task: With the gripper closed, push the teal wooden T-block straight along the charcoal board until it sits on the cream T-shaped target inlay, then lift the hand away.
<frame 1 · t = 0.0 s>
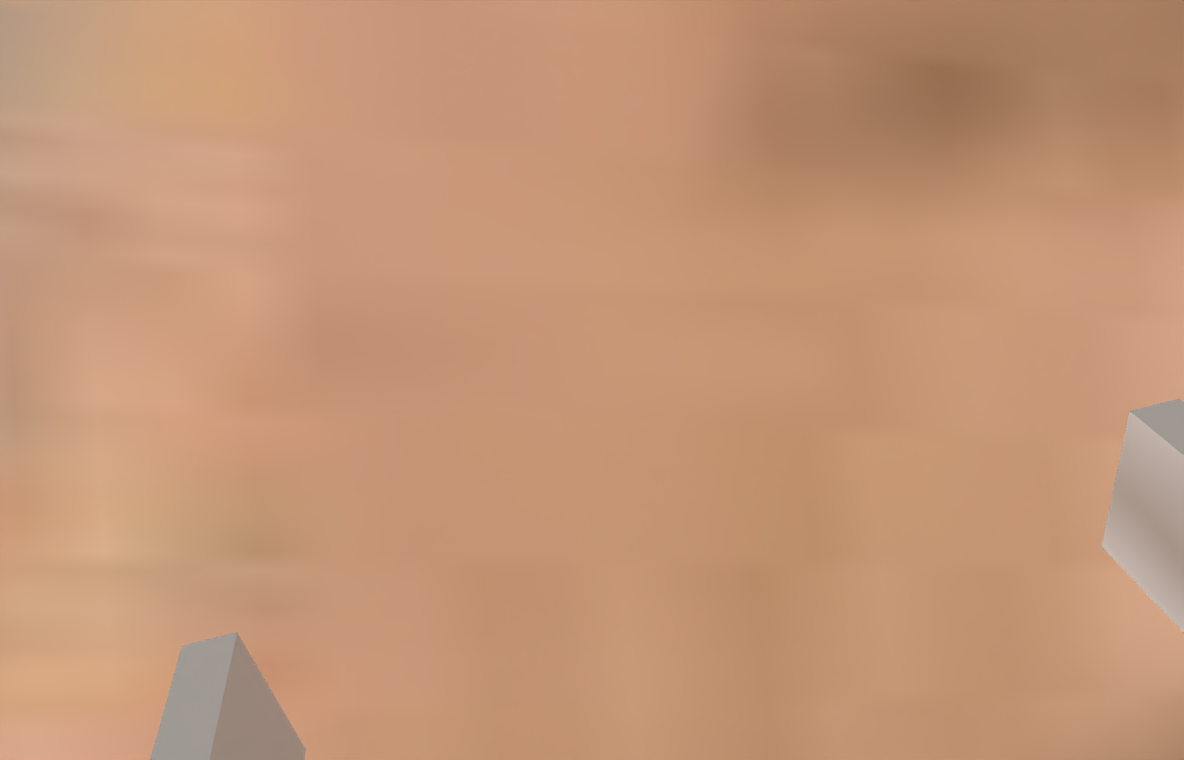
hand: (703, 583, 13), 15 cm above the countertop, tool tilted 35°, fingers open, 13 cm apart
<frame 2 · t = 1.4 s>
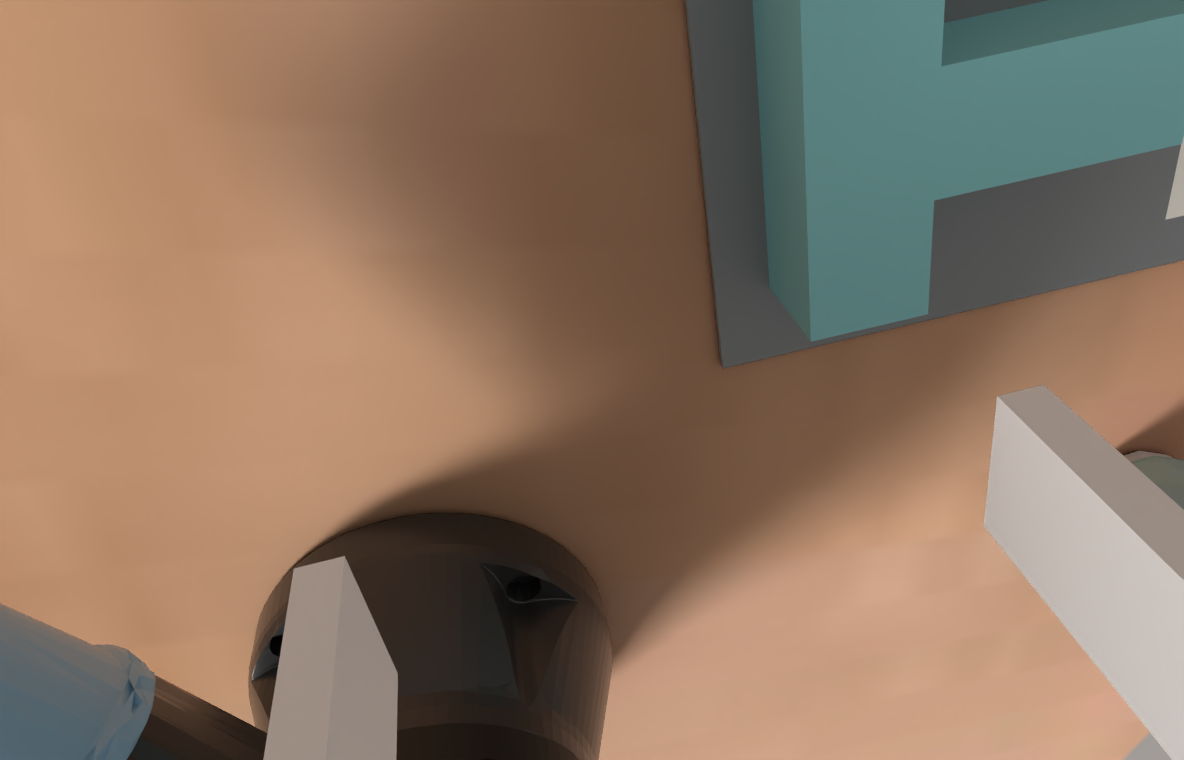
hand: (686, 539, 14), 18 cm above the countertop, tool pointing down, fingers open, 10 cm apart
disposable coffee cup: (1106, 502, 42), on the countertop
t block: (935, 87, 29), resting on board
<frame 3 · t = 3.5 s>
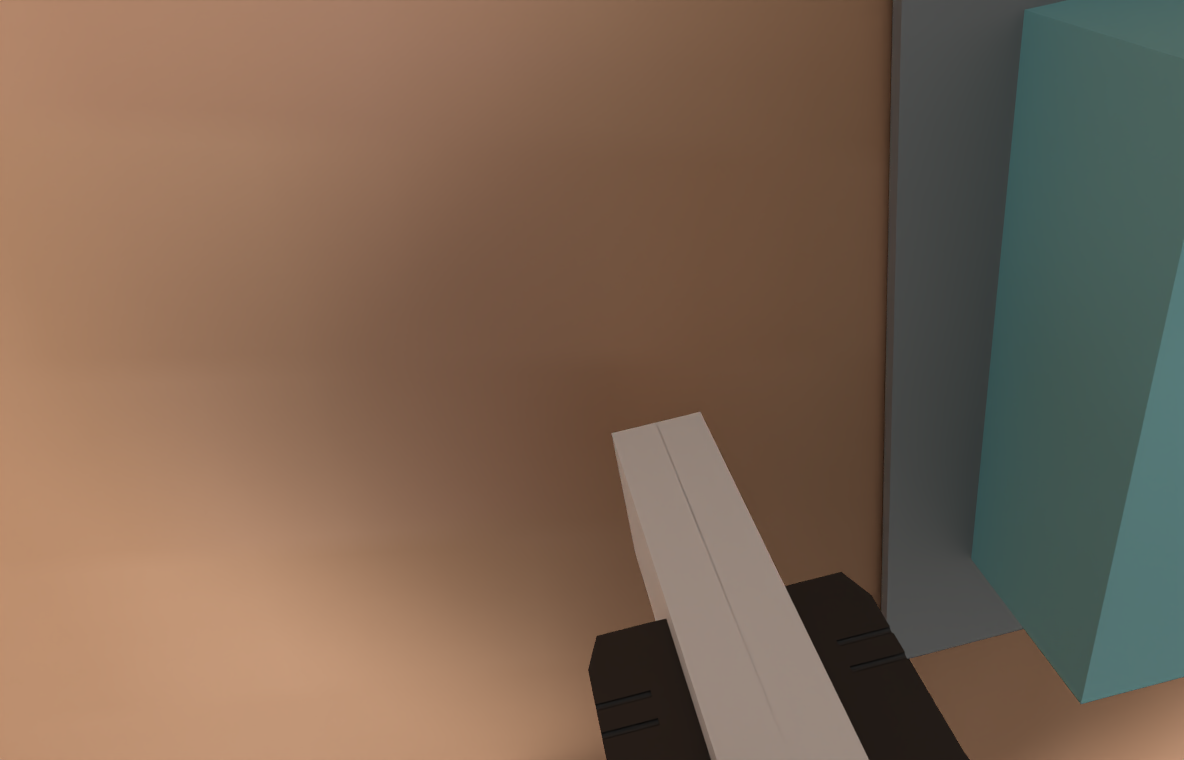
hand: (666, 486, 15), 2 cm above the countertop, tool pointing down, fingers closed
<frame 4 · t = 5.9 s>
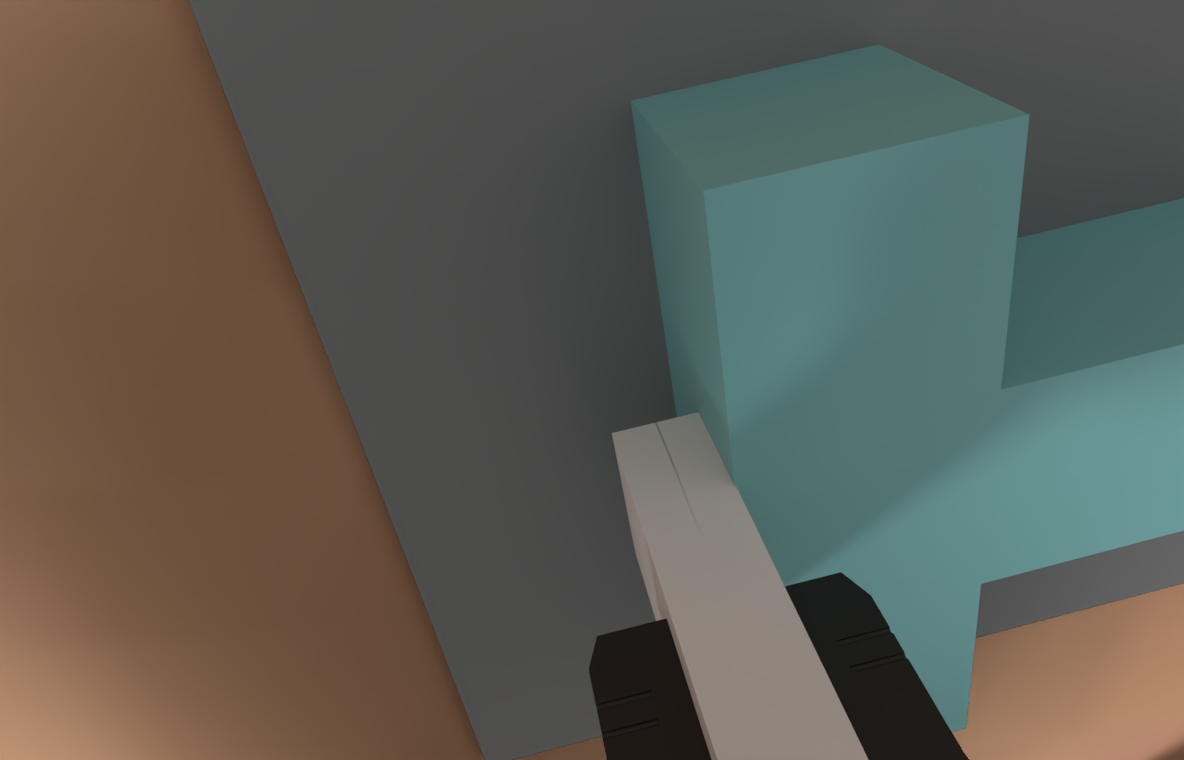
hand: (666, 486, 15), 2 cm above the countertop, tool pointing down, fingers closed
t block: (974, 339, 17), resting on board, touching gripper
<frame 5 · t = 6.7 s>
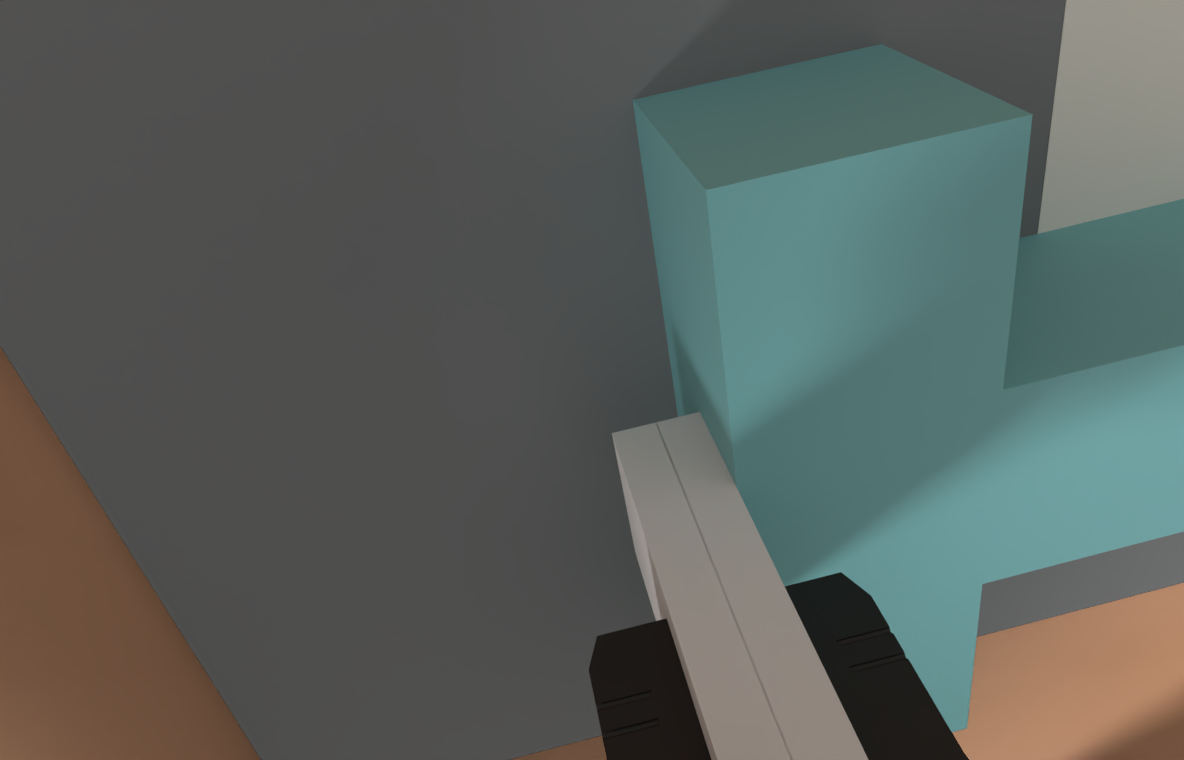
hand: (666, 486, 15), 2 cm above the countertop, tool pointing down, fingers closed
board: (993, 326, 17), on the countertop
t block: (976, 339, 17), resting on board, touching gripper
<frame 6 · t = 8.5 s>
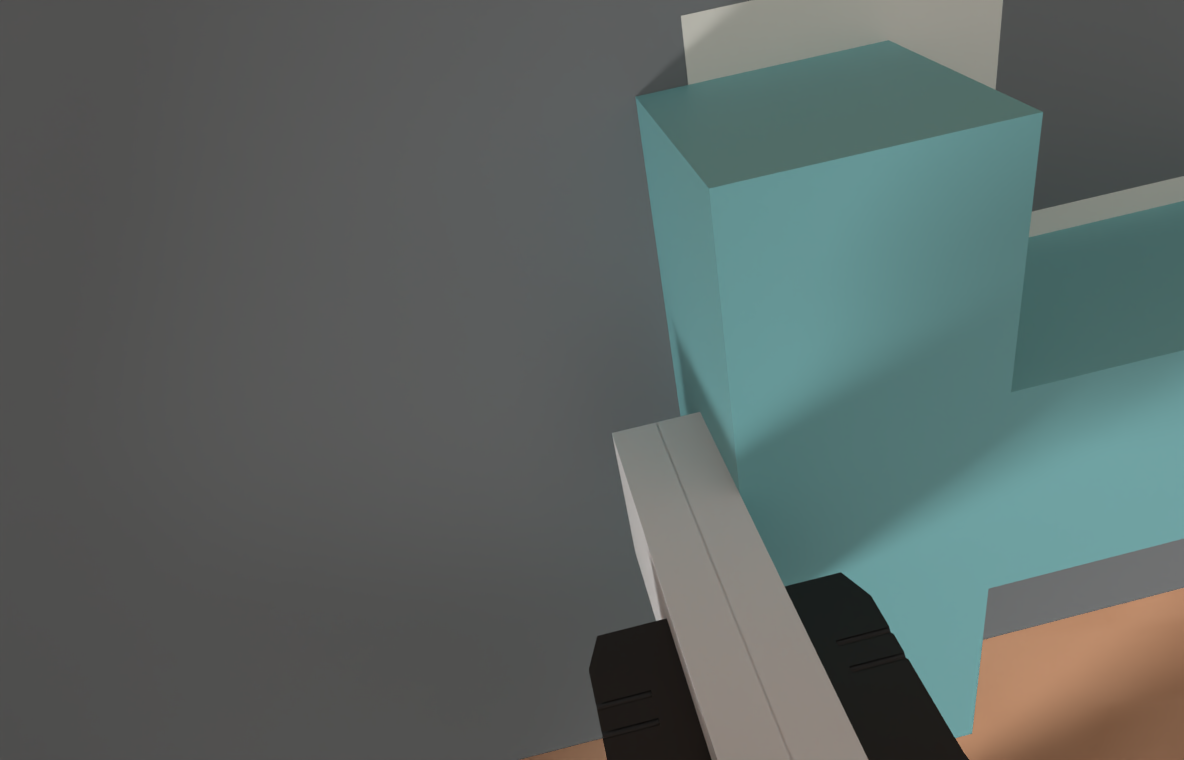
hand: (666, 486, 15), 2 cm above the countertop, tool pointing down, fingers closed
board: (692, 400, 17), on the countertop
t block: (983, 340, 17), resting on board, touching gripper
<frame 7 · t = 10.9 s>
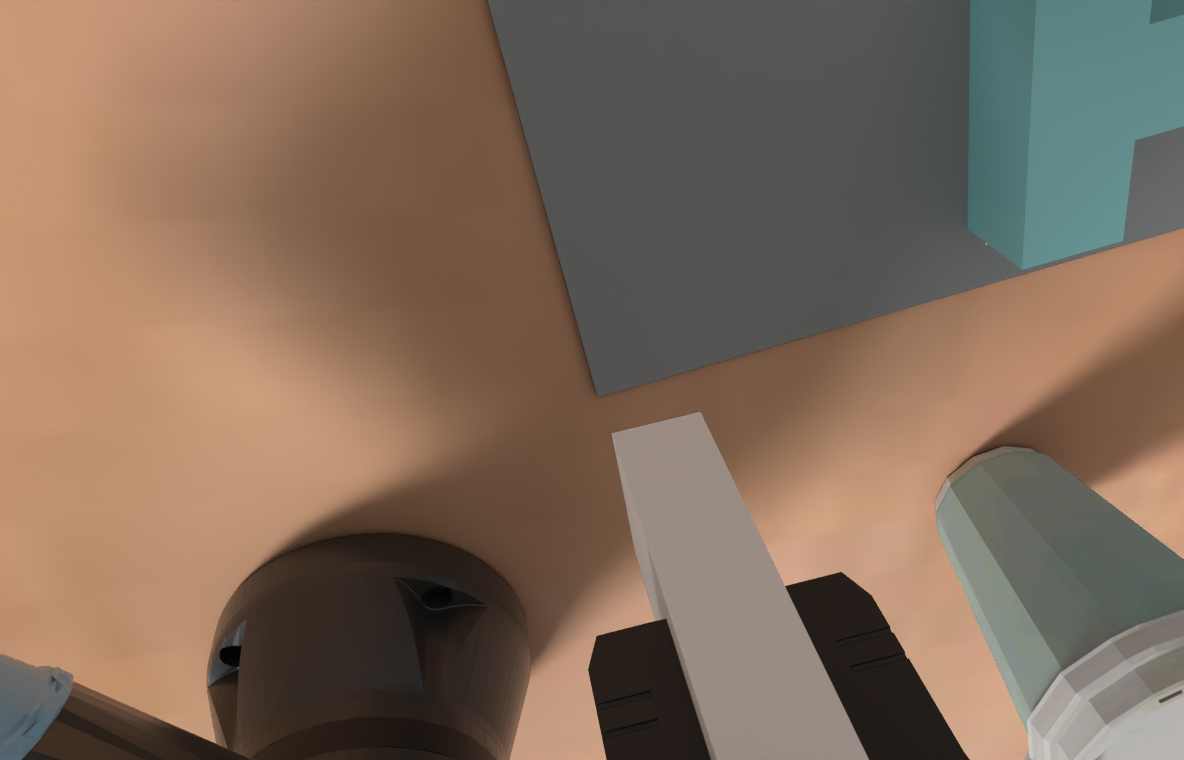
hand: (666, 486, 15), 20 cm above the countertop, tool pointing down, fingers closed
disposable coffee cup: (982, 493, 46), on the countertop
board: (972, 82, 34), on the countertop
t block: (1120, 43, 34), resting on board
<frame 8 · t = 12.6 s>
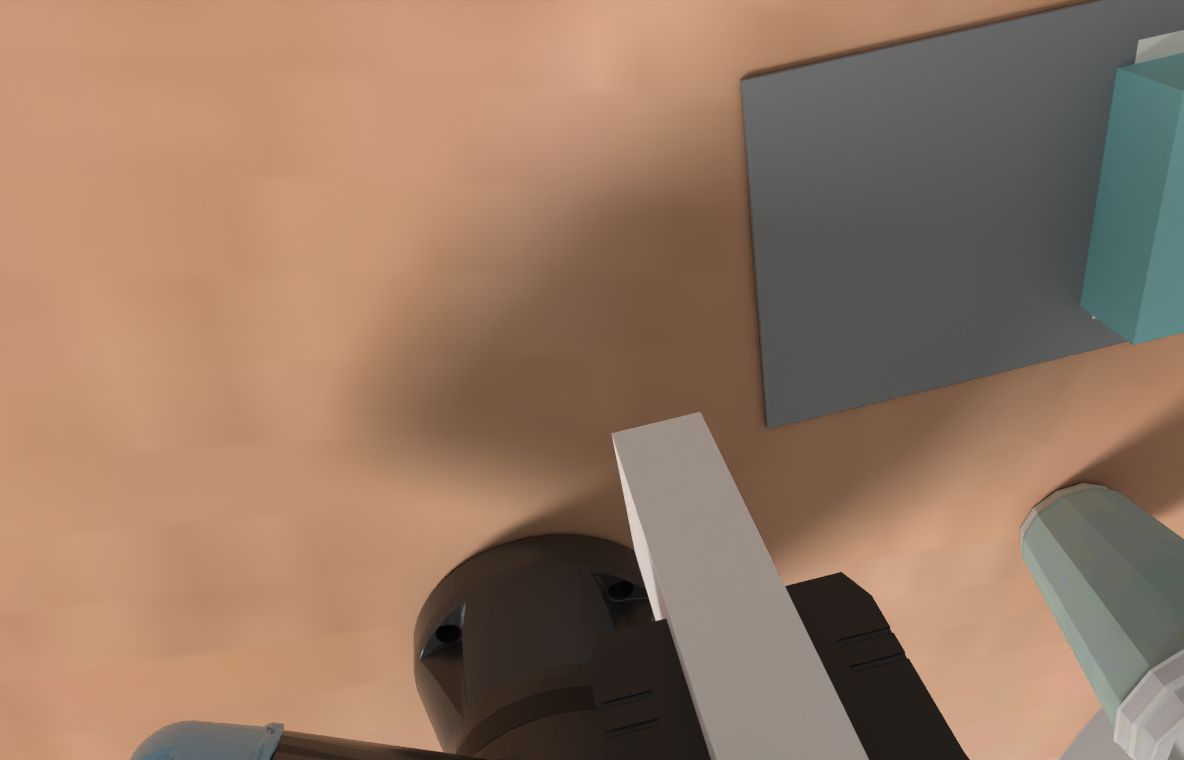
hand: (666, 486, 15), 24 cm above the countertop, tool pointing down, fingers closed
disposable coffee cup: (1059, 522, 55), on the countertop
board: (1099, 192, 42), on the countertop
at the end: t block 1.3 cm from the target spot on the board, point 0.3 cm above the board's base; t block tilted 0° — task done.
